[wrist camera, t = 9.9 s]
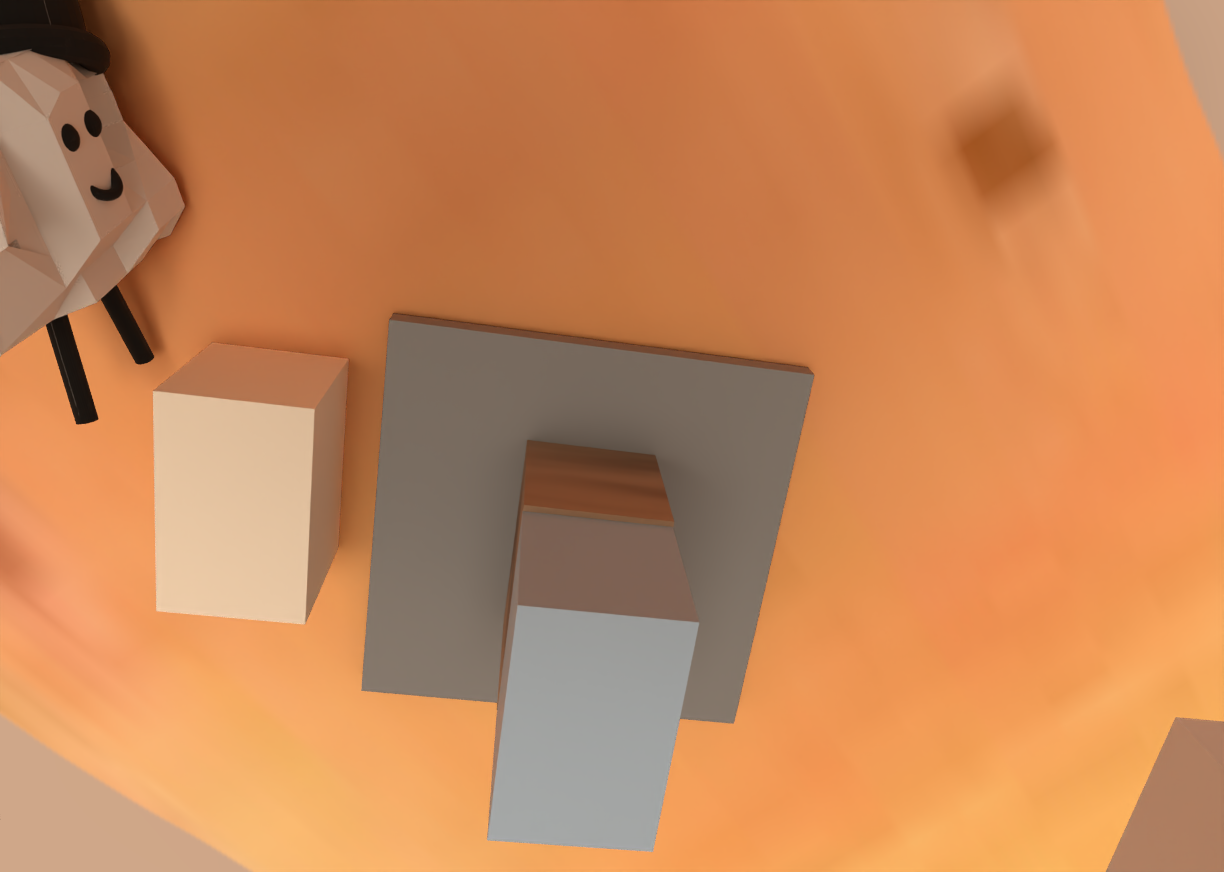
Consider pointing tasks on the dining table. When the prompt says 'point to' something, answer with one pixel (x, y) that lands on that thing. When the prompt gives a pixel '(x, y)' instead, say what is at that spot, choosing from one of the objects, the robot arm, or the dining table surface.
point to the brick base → (587, 492)
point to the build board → (492, 475)
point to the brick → (248, 482)
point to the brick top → (590, 683)
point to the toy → (70, 188)
